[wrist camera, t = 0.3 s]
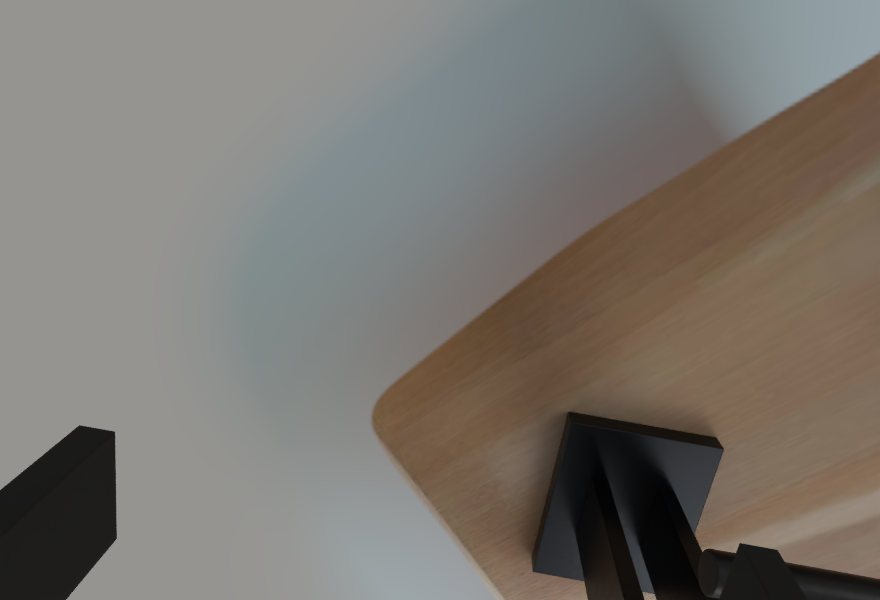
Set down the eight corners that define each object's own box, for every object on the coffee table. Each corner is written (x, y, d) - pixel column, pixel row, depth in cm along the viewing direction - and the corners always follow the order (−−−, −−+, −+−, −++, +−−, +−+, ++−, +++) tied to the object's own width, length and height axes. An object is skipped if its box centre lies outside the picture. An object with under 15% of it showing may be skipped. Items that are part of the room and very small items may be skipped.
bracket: (568, 411, 38) (609, 578, 25) (716, 437, 38) (835, 619, 25) (531, 557, 42) (550, 770, 29) (667, 582, 42) (748, 807, 29)
